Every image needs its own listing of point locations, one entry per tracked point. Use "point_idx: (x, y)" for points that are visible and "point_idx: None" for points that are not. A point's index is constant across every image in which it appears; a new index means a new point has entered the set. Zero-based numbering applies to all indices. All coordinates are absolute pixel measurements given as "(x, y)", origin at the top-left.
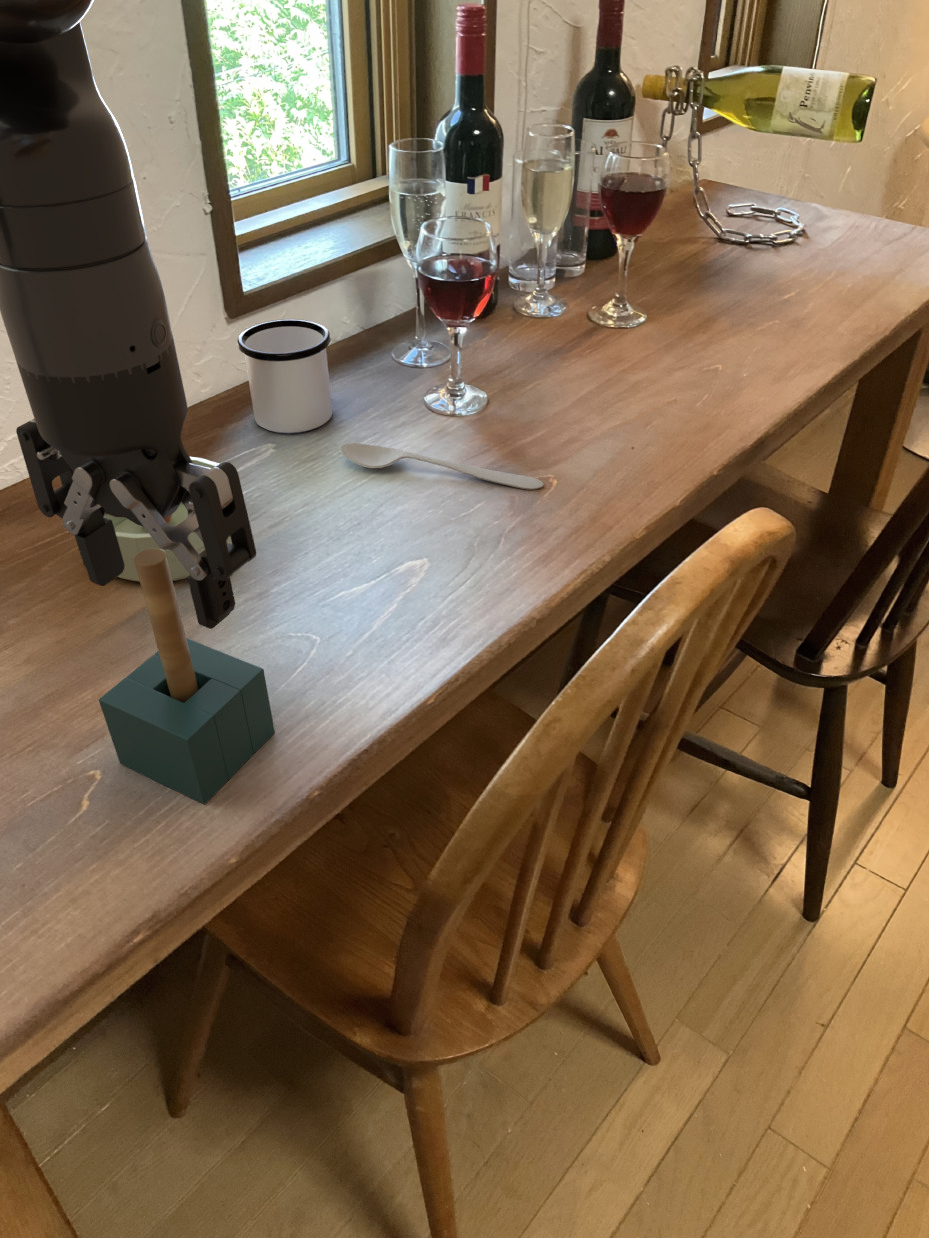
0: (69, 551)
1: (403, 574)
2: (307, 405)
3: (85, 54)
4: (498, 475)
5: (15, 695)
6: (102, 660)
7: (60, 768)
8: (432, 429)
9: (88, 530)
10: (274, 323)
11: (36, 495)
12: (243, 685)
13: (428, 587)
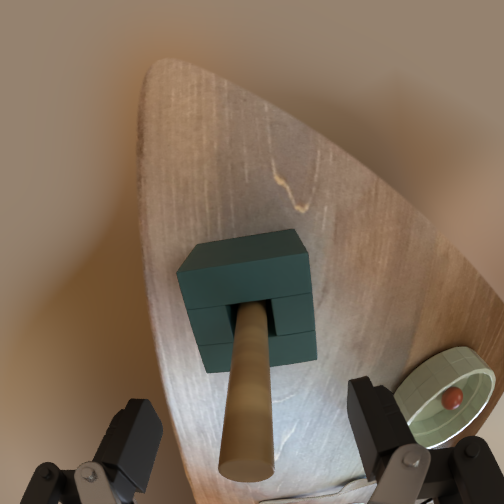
0: (484, 338)
1: None
2: None
3: None
4: (283, 502)
5: (428, 224)
6: (401, 294)
7: (333, 193)
8: (344, 499)
9: (381, 464)
10: None
11: (492, 462)
12: (200, 351)
13: None
